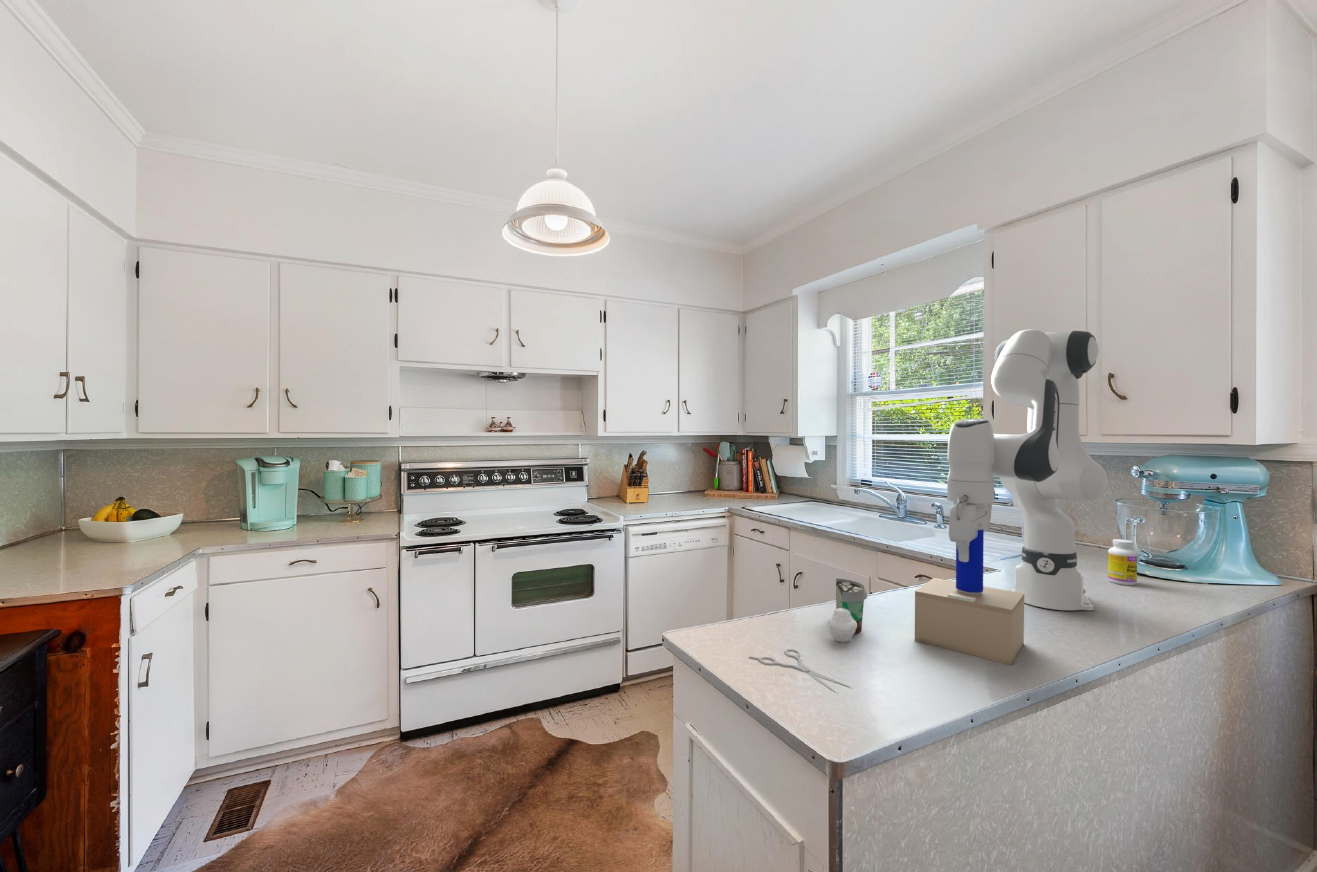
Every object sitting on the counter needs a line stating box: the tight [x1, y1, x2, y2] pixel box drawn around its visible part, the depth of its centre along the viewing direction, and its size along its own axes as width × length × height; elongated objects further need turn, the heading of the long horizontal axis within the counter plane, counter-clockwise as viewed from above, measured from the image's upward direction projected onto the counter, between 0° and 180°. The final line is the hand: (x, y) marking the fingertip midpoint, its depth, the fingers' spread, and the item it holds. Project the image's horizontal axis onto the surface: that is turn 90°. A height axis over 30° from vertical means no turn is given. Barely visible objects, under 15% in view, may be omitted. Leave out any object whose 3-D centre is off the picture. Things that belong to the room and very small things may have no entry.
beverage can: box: [955, 524, 985, 595], centre depth 117 cm, size 5×5×15 cm
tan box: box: [914, 595, 1025, 666], centre depth 117 cm, size 14×18×10 cm
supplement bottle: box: [1107, 538, 1138, 586], centre depth 163 cm, size 7×7×13 cm
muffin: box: [827, 608, 857, 643], centre depth 119 cm, size 6×6×7 cm
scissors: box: [748, 648, 851, 695], centre depth 104 cm, size 11×1×20 cm
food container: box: [835, 578, 868, 635], centre depth 125 cm, size 12×6×10 cm, turn 168°
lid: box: [914, 577, 1024, 615], centre depth 117 cm, size 14×18×2 cm
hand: (969, 557), depth 117 cm, fingers open, 8 cm apart
